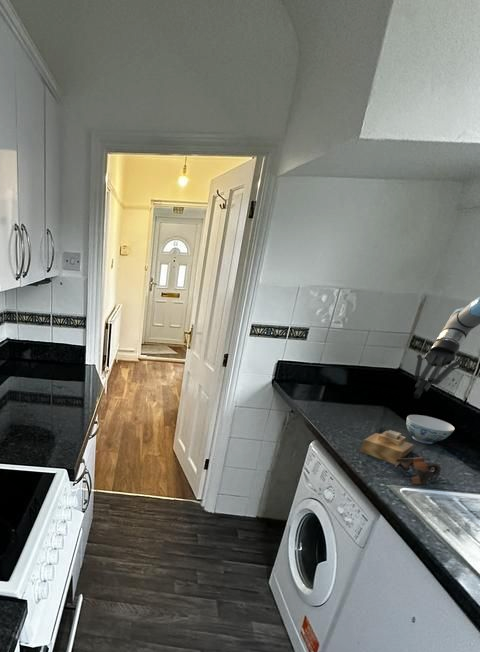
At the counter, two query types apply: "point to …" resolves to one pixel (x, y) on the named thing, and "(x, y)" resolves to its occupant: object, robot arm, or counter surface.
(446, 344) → the robot arm
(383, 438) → the stepped wooden block
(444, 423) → the chinaware
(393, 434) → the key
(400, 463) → the brown toy vehicle
